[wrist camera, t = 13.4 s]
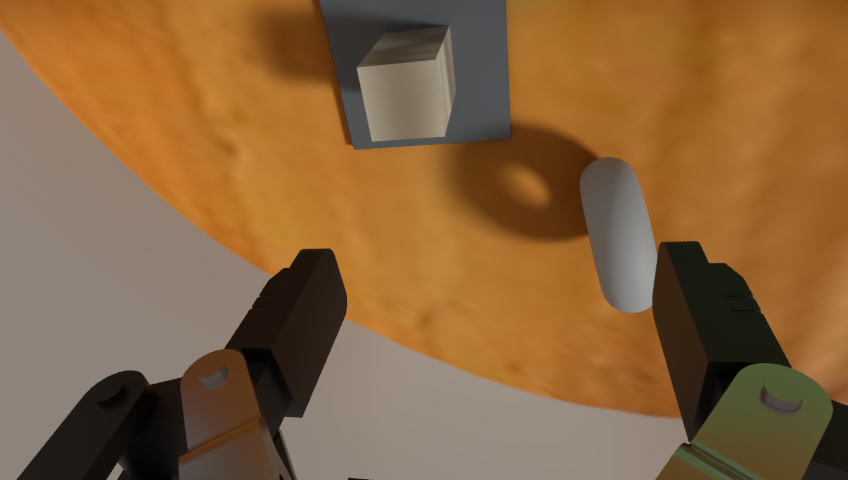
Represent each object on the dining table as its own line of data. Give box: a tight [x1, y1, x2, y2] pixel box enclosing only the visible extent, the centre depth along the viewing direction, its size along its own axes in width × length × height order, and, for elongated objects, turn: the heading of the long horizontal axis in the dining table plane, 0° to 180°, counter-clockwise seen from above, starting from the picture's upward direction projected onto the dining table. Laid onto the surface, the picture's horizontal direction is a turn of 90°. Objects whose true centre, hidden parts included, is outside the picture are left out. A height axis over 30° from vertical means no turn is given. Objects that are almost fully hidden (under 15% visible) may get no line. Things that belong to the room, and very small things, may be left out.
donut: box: [579, 157, 657, 313], centre depth 32 cm, size 10×3×10 cm, turn 21°
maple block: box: [357, 26, 456, 142], centre depth 29 cm, size 4×4×7 cm
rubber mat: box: [319, 0, 511, 150], centre depth 32 cm, size 11×11×1 cm
